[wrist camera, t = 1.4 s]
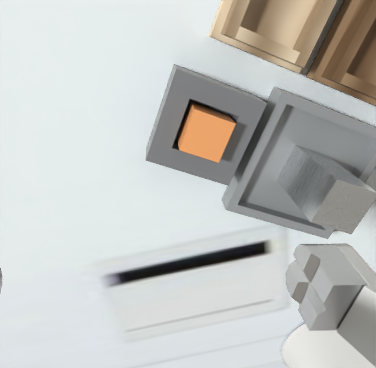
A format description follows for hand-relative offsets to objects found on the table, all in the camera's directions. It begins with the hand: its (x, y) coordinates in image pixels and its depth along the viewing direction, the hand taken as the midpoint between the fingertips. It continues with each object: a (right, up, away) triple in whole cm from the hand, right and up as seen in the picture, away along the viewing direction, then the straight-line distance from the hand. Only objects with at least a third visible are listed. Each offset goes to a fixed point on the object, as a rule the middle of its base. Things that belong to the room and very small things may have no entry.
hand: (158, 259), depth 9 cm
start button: (+2, +8, +23) cm, 24 cm away
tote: (+14, +4, +28) cm, 32 cm away
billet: (+14, +4, +27) cm, 31 cm away
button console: (+2, +9, +25) cm, 26 cm away
